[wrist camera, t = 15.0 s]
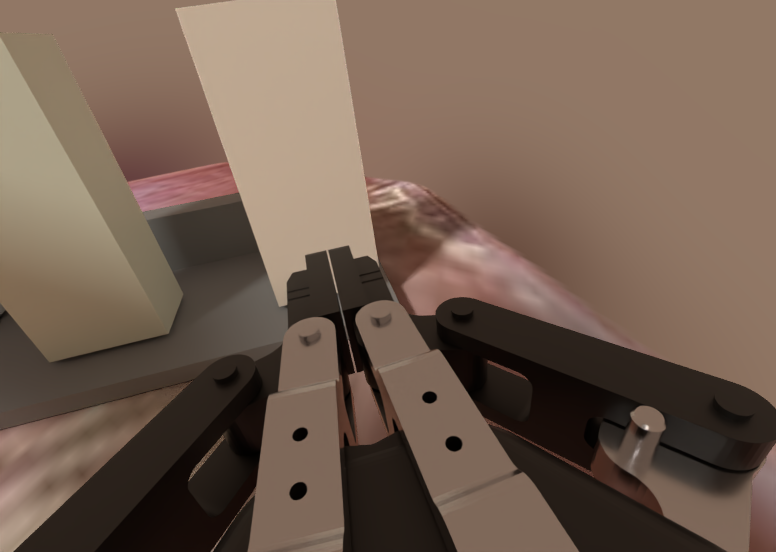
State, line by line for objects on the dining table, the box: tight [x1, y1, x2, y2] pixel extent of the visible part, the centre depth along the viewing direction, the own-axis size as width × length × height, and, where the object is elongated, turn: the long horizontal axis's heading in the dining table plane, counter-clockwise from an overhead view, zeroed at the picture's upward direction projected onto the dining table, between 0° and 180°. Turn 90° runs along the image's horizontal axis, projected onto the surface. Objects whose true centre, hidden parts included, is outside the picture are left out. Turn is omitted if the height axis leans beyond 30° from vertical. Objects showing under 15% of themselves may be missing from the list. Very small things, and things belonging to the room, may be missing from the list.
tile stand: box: [0, 193, 399, 430], centre depth 23 cm, size 13×31×5 cm, turn 104°
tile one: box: [175, 0, 379, 307], centre depth 20 cm, size 4×6×14 cm
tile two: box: [0, 32, 183, 362], centre depth 19 cm, size 4×6×14 cm
